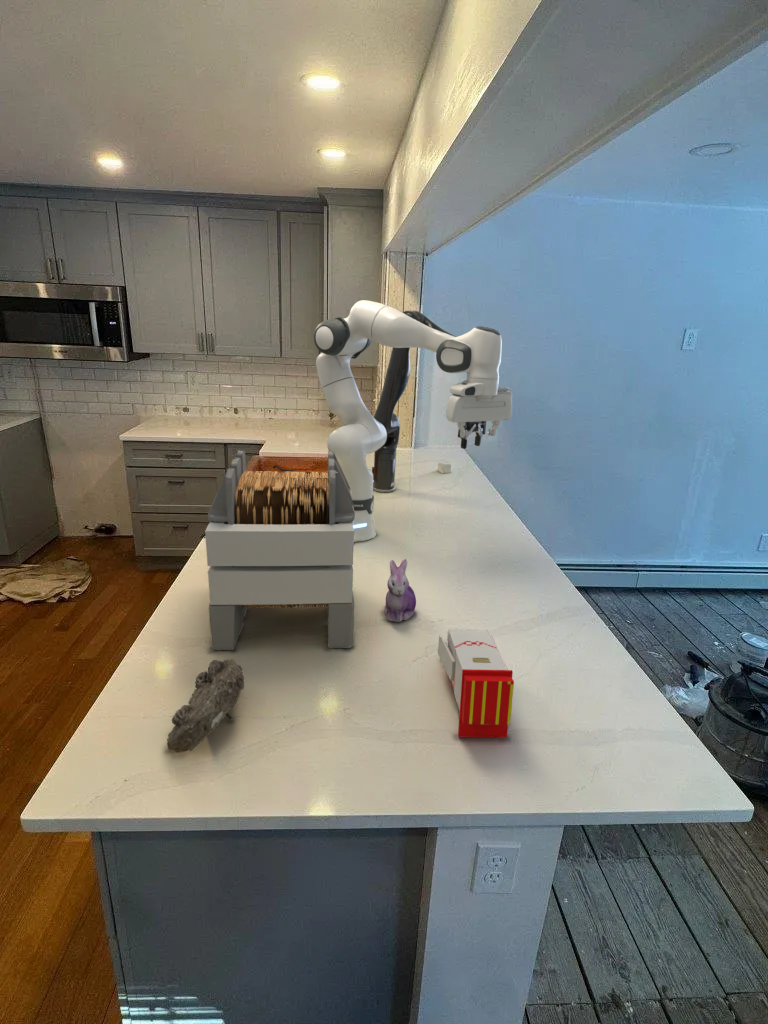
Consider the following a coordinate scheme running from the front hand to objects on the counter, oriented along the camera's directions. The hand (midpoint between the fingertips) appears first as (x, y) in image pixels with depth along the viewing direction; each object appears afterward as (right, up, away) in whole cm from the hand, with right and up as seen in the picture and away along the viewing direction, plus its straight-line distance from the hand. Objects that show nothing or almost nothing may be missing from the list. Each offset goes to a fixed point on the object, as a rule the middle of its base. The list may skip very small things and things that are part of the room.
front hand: (477, 436), depth 164 cm
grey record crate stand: (-52, -48, -19) cm, 73 cm away
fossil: (-60, -61, -56) cm, 102 cm away
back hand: (+7, +4, +58) cm, 58 cm away
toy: (-9, -60, -45) cm, 75 cm away
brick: (+3, -2, +116) cm, 116 cm away
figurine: (-23, -48, -16) cm, 56 cm away
